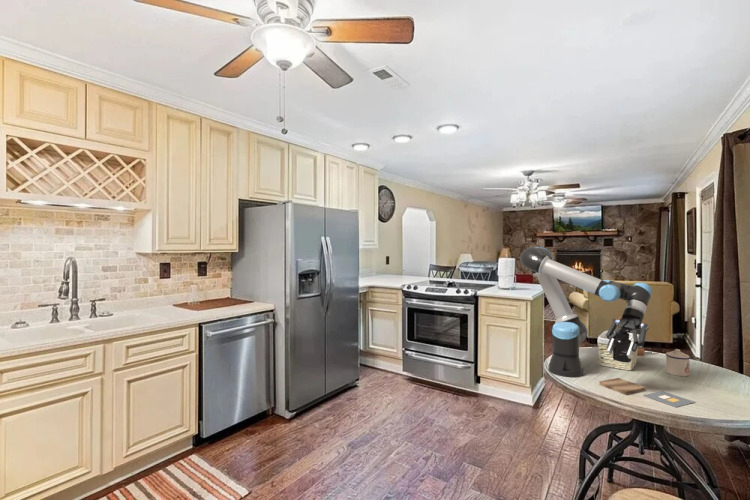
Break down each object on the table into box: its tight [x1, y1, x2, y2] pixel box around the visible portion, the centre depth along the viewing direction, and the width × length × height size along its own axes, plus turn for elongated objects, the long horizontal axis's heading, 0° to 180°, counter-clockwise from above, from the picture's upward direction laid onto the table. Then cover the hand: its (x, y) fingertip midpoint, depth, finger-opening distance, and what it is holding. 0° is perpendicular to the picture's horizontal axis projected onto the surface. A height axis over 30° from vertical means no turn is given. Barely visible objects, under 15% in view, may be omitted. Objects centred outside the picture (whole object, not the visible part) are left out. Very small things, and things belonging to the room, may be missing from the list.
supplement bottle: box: [613, 332, 632, 362], centre depth 161 cm, size 7×7×12 cm
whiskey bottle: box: [617, 301, 645, 357], centre depth 210 cm, size 10×10×32 cm
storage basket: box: [596, 329, 639, 371], centre depth 194 cm, size 24×16×15 cm
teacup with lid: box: [665, 348, 691, 377], centre depth 180 cm, size 12×9×12 cm
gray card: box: [643, 390, 696, 408], centre depth 150 cm, size 12×12×1 cm
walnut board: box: [599, 377, 646, 396], centre depth 161 cm, size 12×12×2 cm
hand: (618, 354), depth 159 cm, fingers closed on supplement bottle, 7 cm apart
